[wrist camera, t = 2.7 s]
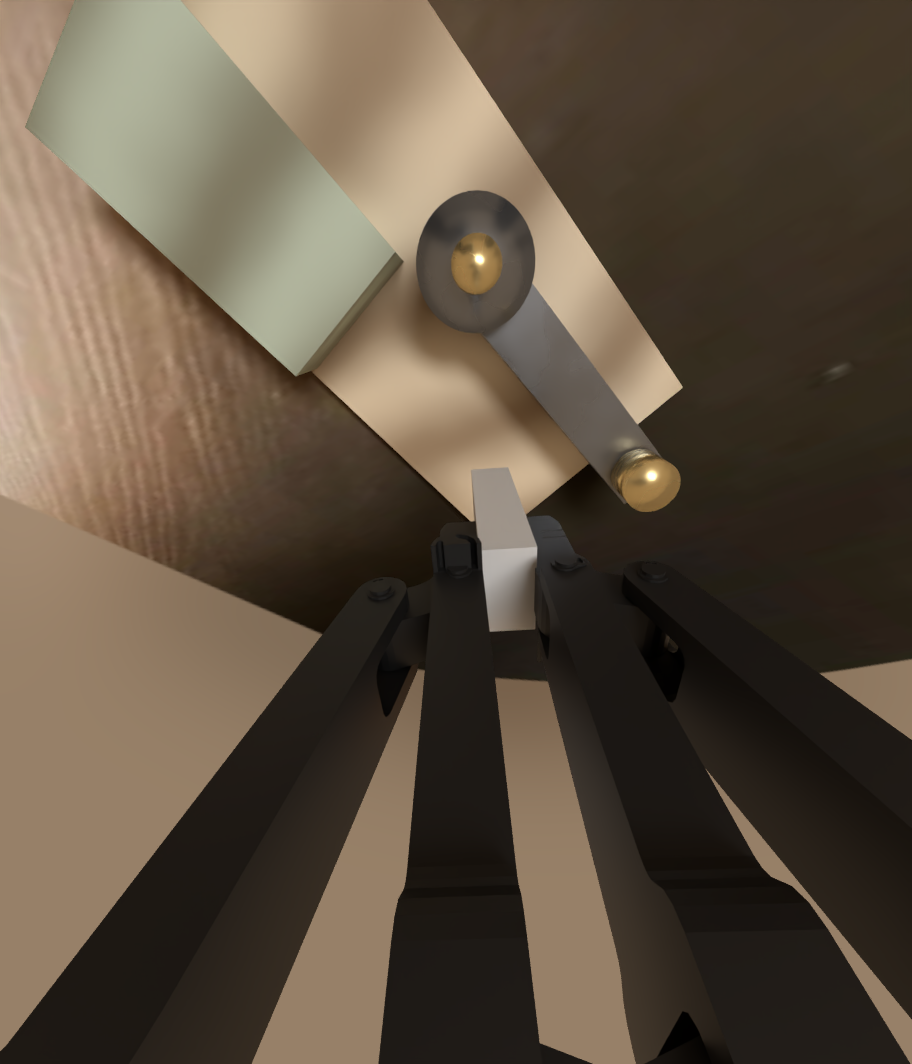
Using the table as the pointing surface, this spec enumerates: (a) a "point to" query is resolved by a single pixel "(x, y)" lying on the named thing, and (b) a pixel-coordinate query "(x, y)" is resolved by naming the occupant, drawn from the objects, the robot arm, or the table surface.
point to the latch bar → (533, 339)
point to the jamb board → (401, 181)
